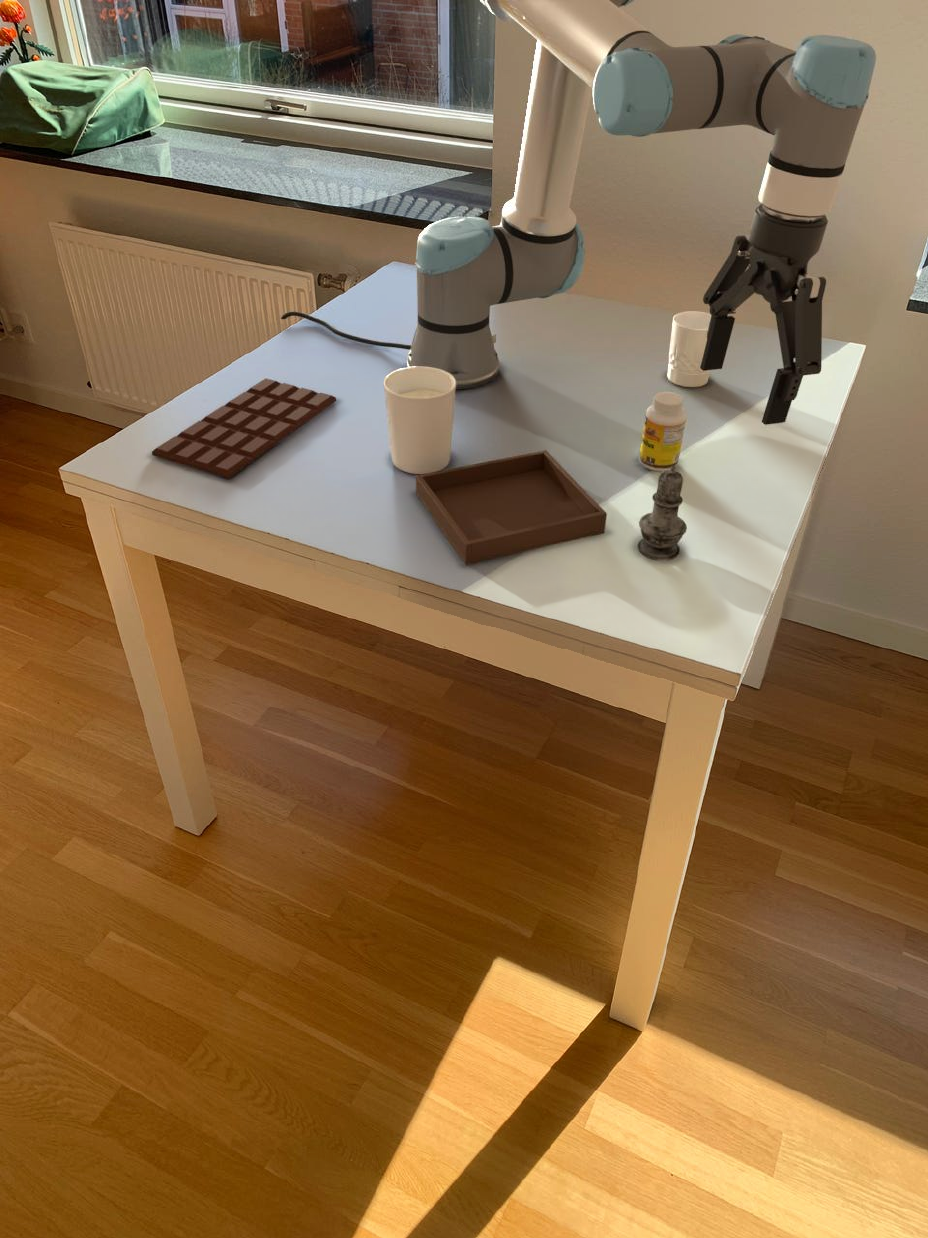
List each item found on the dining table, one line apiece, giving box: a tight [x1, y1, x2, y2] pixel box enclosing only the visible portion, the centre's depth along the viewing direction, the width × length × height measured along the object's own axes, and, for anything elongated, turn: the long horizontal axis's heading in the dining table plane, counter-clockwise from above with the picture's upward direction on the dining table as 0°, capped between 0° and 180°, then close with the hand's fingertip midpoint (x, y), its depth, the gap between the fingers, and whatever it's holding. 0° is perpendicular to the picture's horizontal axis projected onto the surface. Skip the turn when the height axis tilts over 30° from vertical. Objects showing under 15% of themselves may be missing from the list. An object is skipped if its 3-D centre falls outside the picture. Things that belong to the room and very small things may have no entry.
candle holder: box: [383, 367, 457, 475], centre depth 134 cm, size 10×10×12 cm
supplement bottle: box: [638, 391, 687, 472], centre depth 135 cm, size 6×6×10 cm
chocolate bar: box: [151, 378, 337, 479], centre depth 144 cm, size 27×14×1 cm, turn 153°
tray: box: [415, 449, 608, 565], centre depth 126 cm, size 19×17×3 cm
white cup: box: [666, 310, 712, 388], centre depth 157 cm, size 8×8×10 cm
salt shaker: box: [637, 465, 688, 562], centre depth 118 cm, size 6×6×12 cm
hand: (740, 394), depth 115 cm, fingers open, 13 cm apart
